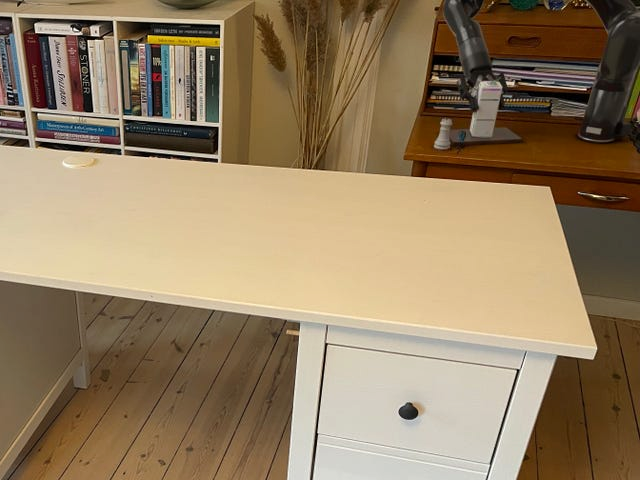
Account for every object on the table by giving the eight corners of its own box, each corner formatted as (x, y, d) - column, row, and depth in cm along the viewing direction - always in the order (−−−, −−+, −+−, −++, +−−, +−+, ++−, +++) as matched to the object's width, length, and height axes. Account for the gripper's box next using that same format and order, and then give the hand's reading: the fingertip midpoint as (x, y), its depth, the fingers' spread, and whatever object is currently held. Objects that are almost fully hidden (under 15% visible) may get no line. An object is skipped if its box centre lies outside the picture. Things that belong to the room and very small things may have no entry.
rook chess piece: (430, 147, 211) (435, 119, 207) (440, 144, 213) (445, 116, 209) (443, 151, 208) (448, 123, 204) (453, 148, 210) (458, 120, 206)
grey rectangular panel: (505, 130, 222) (505, 127, 221) (521, 142, 213) (522, 138, 212) (439, 133, 221) (440, 130, 221) (453, 145, 212) (454, 142, 212)
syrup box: (492, 137, 214) (504, 86, 205) (470, 137, 215) (481, 85, 206) (489, 131, 218) (500, 80, 210) (468, 130, 219) (478, 80, 211)
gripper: (459, 52, 209) (473, 105, 206) (504, 48, 211) (519, 100, 209) (445, 67, 216) (459, 118, 213) (489, 63, 218) (503, 114, 216)
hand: (488, 109), depth 211 cm, fingers closed on syrup box, 7 cm apart
